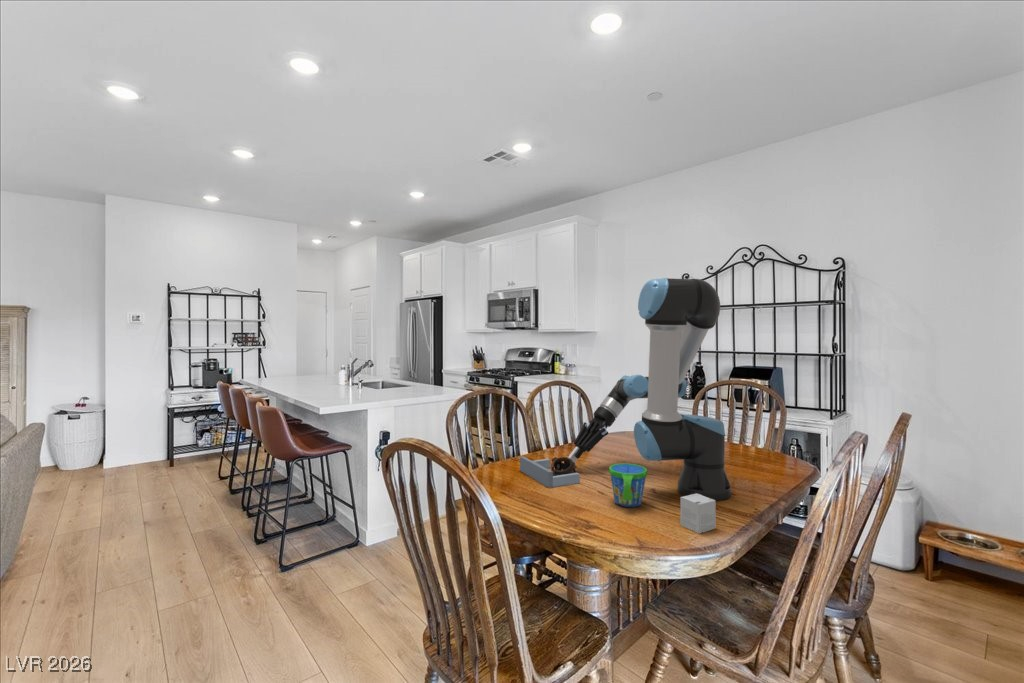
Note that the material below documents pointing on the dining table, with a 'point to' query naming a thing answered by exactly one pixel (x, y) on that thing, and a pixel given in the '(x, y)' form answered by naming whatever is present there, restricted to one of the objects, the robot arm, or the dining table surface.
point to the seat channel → (546, 473)
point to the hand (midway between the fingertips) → (568, 463)
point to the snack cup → (628, 483)
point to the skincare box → (698, 513)
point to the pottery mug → (563, 466)
